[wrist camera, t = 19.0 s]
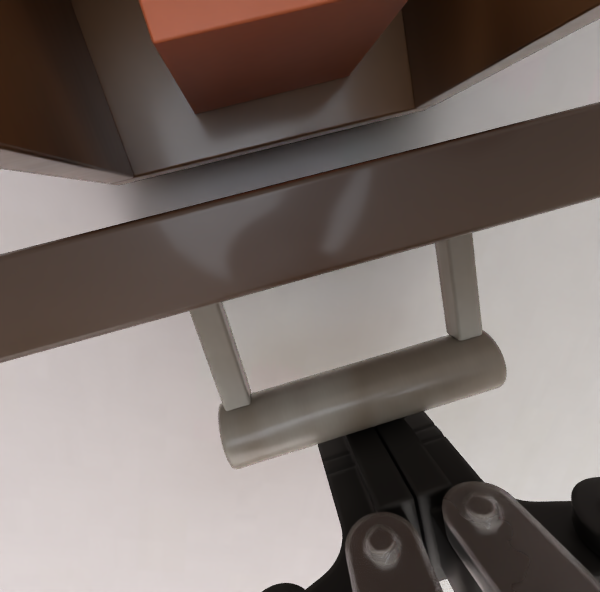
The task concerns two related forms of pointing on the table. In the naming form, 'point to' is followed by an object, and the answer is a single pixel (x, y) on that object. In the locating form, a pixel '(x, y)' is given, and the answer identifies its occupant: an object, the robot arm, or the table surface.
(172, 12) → the block
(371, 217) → the drawer
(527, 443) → the table surface
